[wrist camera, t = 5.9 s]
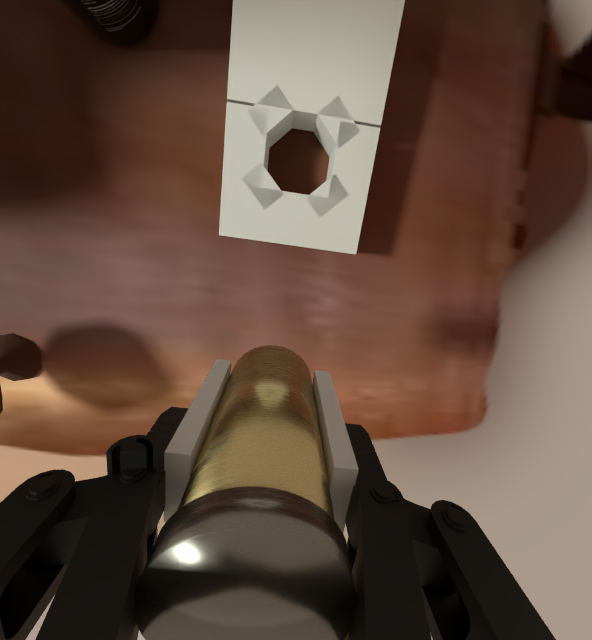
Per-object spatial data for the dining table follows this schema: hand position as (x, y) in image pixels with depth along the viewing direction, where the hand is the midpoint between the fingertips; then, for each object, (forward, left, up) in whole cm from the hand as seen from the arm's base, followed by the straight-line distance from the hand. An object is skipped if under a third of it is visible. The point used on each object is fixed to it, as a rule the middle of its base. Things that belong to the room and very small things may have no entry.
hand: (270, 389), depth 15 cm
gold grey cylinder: (0, 0, -1) cm, 1 cm away
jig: (0, +20, -16) cm, 26 cm away
